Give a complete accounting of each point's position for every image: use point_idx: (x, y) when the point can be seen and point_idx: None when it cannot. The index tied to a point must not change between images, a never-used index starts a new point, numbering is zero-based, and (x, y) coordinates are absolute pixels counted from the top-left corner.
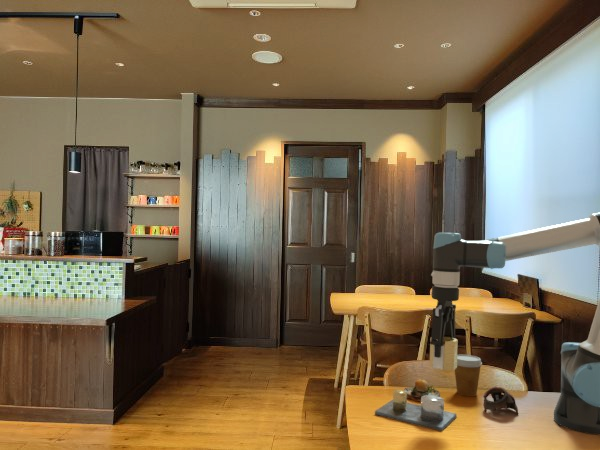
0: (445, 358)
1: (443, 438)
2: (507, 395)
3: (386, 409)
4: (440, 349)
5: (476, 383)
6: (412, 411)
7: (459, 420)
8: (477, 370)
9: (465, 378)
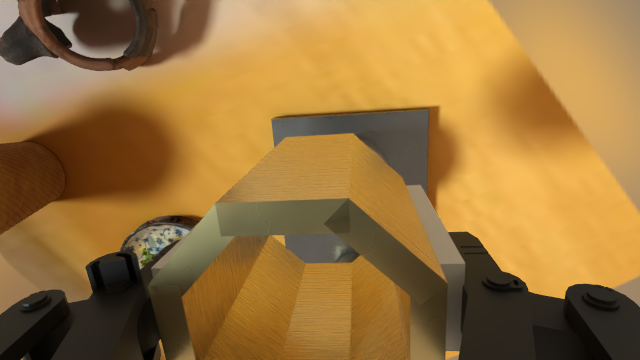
0: (407, 199)
1: (481, 81)
2: None
3: None
4: (466, 265)
5: None
6: None
7: (294, 98)
8: None
9: (12, 185)
